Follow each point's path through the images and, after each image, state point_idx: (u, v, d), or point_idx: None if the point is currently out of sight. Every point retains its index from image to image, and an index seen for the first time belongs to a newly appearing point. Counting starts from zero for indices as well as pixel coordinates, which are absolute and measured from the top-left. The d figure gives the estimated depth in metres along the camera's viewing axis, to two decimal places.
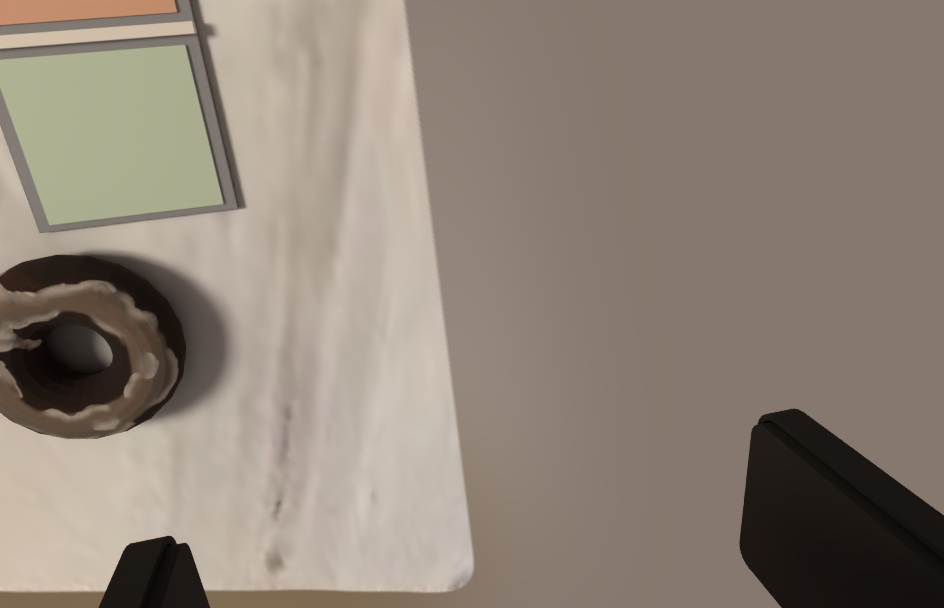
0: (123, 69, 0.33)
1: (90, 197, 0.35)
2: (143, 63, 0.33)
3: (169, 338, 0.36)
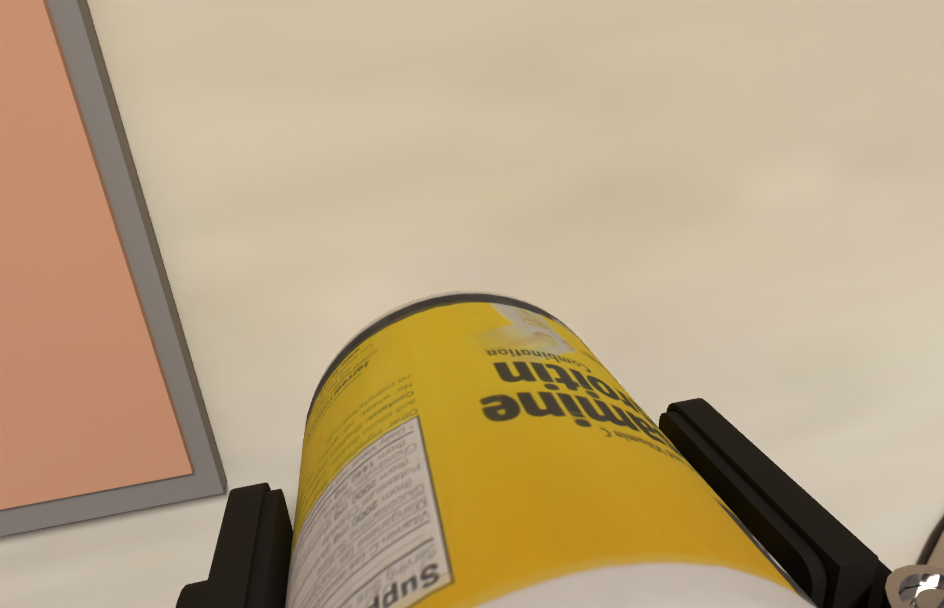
0: None
1: None
2: None
3: None
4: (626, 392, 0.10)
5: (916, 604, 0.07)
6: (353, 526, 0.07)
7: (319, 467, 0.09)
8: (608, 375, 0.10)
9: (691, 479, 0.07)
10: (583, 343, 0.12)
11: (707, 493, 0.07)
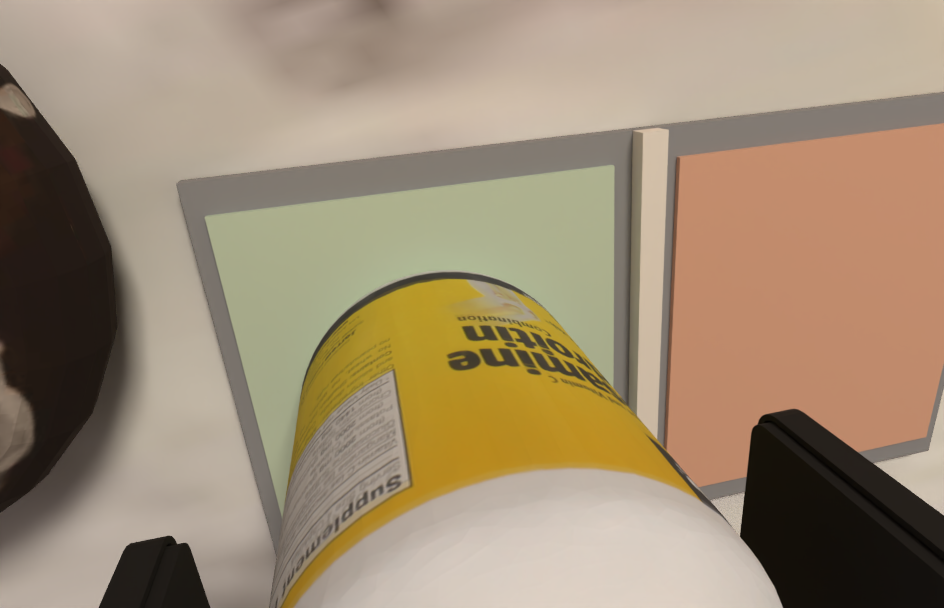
0: None
1: (294, 323, 0.13)
2: None
3: None
4: (585, 356, 0.11)
5: None
6: (335, 458, 0.08)
7: (310, 419, 0.10)
8: (569, 341, 0.11)
9: (625, 418, 0.08)
10: (552, 316, 0.13)
11: (639, 429, 0.08)
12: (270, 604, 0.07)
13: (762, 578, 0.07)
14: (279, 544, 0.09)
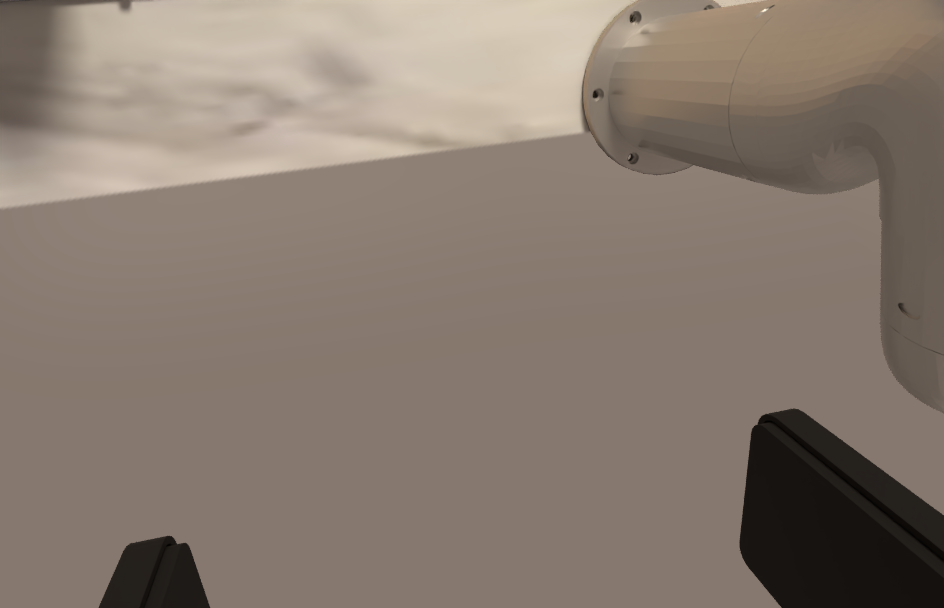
0: None
1: None
2: None
3: None
4: None
5: None
6: None
7: None
8: None
9: None
10: None
11: None
12: None
13: None
14: None
